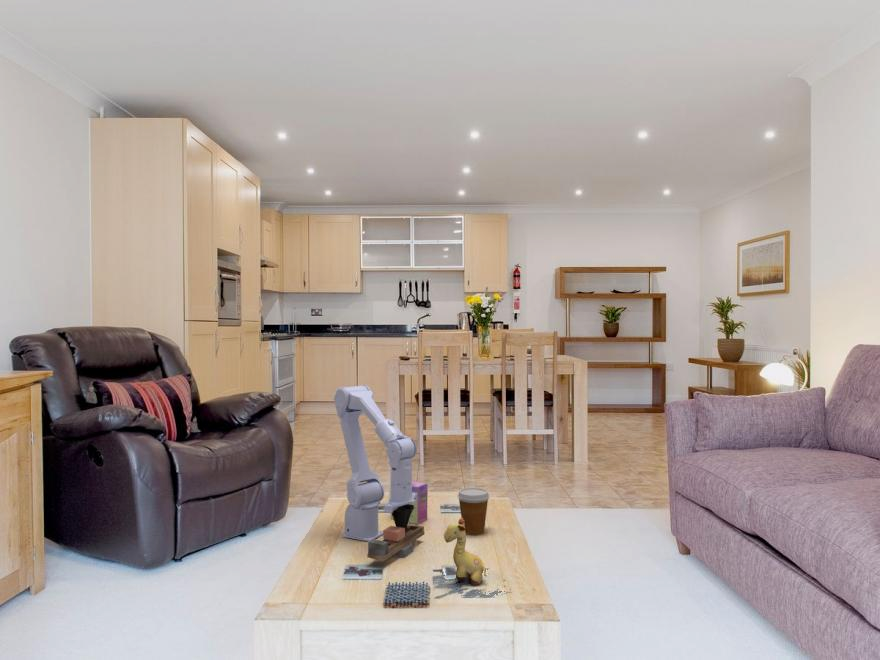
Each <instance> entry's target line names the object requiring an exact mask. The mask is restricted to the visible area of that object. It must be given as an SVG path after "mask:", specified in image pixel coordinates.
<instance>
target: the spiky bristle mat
mask: <svg viewBox="0 0 880 660" xmlns="http://www.w3.org/2000/svg"><path fill="white" fill-rule="evenodd" d="M430 593H431V586H430V584H429V583H428V582H426V583H425V581H422V583H421V582H419V583H418V581H415V582H412V583H411V581H409V582H404V581H402V582H401V583H400V582H399V583H398V581H395V583H391V582H390V581H389V582H388V583H387V585H386V587H385V591H384V596H383V602H382V604H383V608H384V609H385V608H387V609H388V608H389V609H390V608H392V609H394V608H395V609H397V608H399V609H401V608H403V609H404V608H406V609H407V608H430V603H431V601H430V600H431V597H430Z"/></svg>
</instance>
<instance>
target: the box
mask: <svg viewBox="0 0 880 660" xmlns="http://www.w3.org/2000/svg"><path fill="white" fill-rule="evenodd" d="M412 492H415V493H417V500H416V502H415V503H413V504H410V505H414V509H413V511H412V513H411V515H410V518H409V522H408V524H412V525H420V524H423V523H424V522H426V521H428V494H429V493H428V483H426V482H421V481H415V480H412ZM390 517H391V520H394V518H393V516H392V514H391V513H390Z"/></svg>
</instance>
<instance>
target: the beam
mask: <svg viewBox="0 0 880 660" xmlns="http://www.w3.org/2000/svg"><path fill="white" fill-rule="evenodd" d="M424 535H425V528H424V526H423V525H419V524H412V523H408V526H407V530H406V532H405V537H404V538H403V539H401V540H399V541H398V542H397V541H396V542H394V543H393V544H391V545H390V544H388V540H385V539H382V540H380V539H373V540H371V541H367V555H366V556H367V558H368V559H372V560H373V559H374V560H379V561H386V560H387V559H389V558H391V557H396V558H402V559H405V558H406V557H408V556H409V555H411V554H412V553H414V544H413V543H414V542H415V541H417V540H418V539H420V538H421V537H422V536H424Z"/></svg>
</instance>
